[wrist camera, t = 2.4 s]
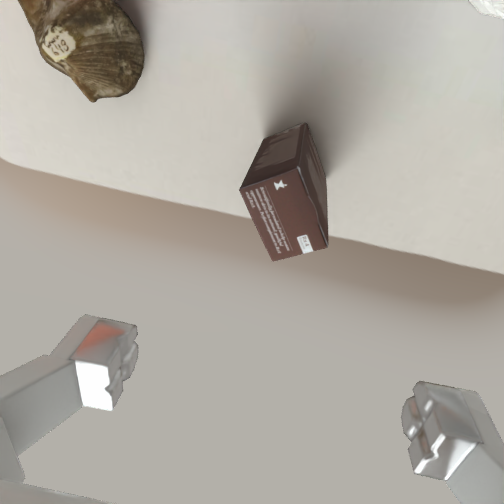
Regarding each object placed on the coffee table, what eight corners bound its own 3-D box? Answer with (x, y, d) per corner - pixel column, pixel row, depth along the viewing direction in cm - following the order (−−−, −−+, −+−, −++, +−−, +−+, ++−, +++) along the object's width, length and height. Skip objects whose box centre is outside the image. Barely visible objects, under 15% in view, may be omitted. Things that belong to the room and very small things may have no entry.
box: (259, 139, 32) (235, 188, 22) (307, 120, 31) (305, 162, 21) (283, 198, 35) (271, 265, 25) (327, 183, 34) (335, 247, 23)
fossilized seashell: (-5, -31, 26) (71, 105, 32) (-21, -45, 21) (73, 120, 27) (93, -60, 28) (148, 76, 34) (100, -79, 23) (164, 85, 29)
